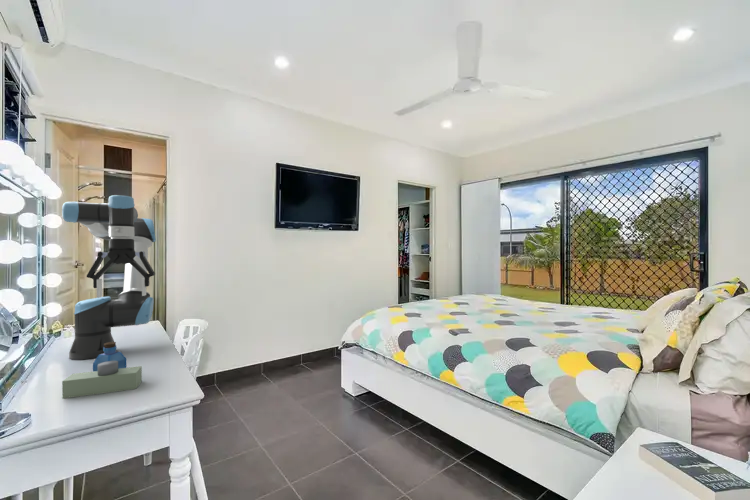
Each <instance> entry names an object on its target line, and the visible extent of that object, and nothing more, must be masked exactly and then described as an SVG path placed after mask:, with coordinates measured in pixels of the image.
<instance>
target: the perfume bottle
mask: <svg viewBox="0 0 750 500" xmlns="http://www.w3.org/2000/svg"><path fill="white" fill-rule="evenodd" d="M116 343H117V342H116V341H114V342H108V343H105V344H104V348H103V351H104V353H103V354H100V355H98V357H97V358H95V359H94V361H93V363H92V372H93V371H98V364H100V363H103V362H107V361H118V369H120V368H127V357H126V356H125V355H124V354H123V353H122V351H117V345H116V346H115V344H116ZM115 350H116V352H115Z"/></svg>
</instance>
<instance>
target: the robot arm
mask: <svg viewBox="0 0 750 500" xmlns="http://www.w3.org/2000/svg"><path fill="white" fill-rule="evenodd" d="M135 205H136V204H135V199H134V197H133V196H129V195H120V194H114V195H110V196H109V197H108V202H107V203H105V202H103V203H102V202H83V201H82V202H81V201H66V202H64V203H63V204H62V207H61V214H62V215H61V216H62V219H63V220H64V222H66V223H73V224H75V223H79V224H81V225H82V226H84V227H86V228H87V229H88V232H89V233H90V234H91V235H93V236H95V237H97V238H99V239H103V240H106V241H108V252H105V251H98V252H97V255H96V256H97V257H96V259H95V260H94V262H93V264H92V265H91V267H90V268H89V271H88V272H87V274H86V278H89V279H92V280H93V283H92V285H93V289H96V297H93V298H89V299H88V298H87V299H84V300H80V301H78V302H77V303H75V305H74V313H73V315H74V340H73V342H72V344H71V347H70V349H69V353H68V358H69V360H89V359H94V358H95V359H96V358H97V357H98V355H100V354H103V353H104V351H103V348H104V344H105V343H108V342H115V340H114V337H113V335H112V328H119V327H129V326H139V325H140V326H141V325H145V324H148V323H150V321H151V319H152V316H153V311H154V301H155V300H154V297H152V296H151V294H150V293H149V292H148V291H147V287H149V286H150V278H152V277H153V276H155V275H156V272H155V271H154V269H153V268H152V265H151V264H150V263H149V248H151V247H152V245H153V243H155V242H156V241H157V240H156V232H155V224H154V221H153V219H151V218H144V217H141V218H140V217H139V214H138V210H137V208H135ZM106 257H108V258H109V260H108V261H107V262H106V263H105V265H103V266H102V267H101V268H100V269H99V267H100V265H102V263H103V260H104V259H105V258H106ZM114 264H115V265H119V264H121V265H122V264H123V265H124V273H123V288H122V292H121V293H119V294H118V295H117V296H118V297H117V298H116V299H112V298H111V296H103V278H101V277H102V276H103V275H104V274H105V273H106V272H107V271H108V270H109V269H110V268H111V267H112V266H113V265H114ZM98 269H99V271H98ZM97 271H98V272H97ZM115 346H116V347H117V345H116V344H115ZM115 352H117V349H116V350H115Z"/></svg>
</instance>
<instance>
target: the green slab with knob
mask: <svg viewBox="0 0 750 500" xmlns="http://www.w3.org/2000/svg"><path fill="white" fill-rule="evenodd" d="M142 370H143V367H142V365H141V366H140V365H139V366H132V367H126V368H120V369H118V361H107V362H103V363H100V364H98V371H93V370H92V371H86V372H77V373H76V372H75V373H72V374H70V375H69V376H67V377H66V378H65V379H63V380H62V385H61V387H62V388H61V389H62V392H61V393H62V397H61V398H62V399H69V398H76V397H82V396H83V397H85V396H91V395H99V394H108V393H114V392H121V391H123V392H124V391H129V390H137V388H138V387H139V386H140V384H141V383H142V381H143V380H142V379H143V378H142V377H143V376H142V375H143V373H142V372H143V371H142Z"/></svg>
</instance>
